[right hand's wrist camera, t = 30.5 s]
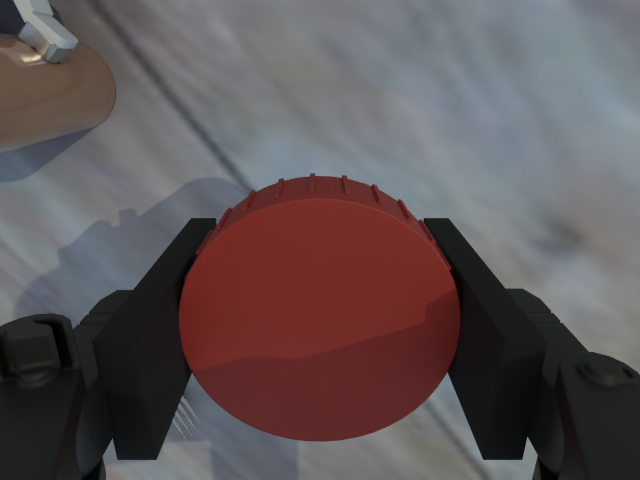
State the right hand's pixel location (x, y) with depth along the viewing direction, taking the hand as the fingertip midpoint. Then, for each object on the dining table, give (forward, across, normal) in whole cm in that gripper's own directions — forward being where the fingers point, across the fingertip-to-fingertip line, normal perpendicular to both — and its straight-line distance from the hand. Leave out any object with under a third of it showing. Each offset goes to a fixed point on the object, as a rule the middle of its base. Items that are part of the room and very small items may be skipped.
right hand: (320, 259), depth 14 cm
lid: (-4, 0, 0) cm, 4 cm away
